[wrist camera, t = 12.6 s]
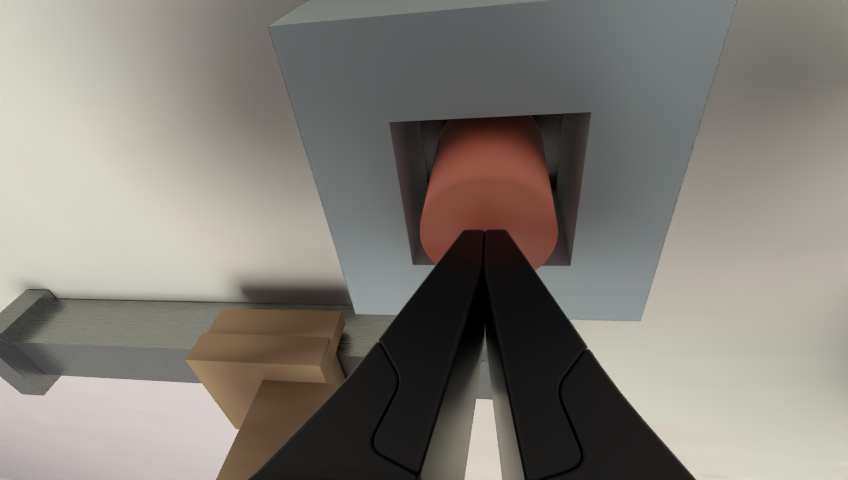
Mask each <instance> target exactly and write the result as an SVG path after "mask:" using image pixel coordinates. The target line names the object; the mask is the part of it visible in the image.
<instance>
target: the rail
mask: <svg viewBox="0 0 848 480" xmlns="http://www.w3.org/2000/svg"><path fill="white" fill-rule="evenodd" d="M222 308H226V309H267V310H308V311H342V314H343V317H344V320H345V326H344V329H343V332H342V335H341V338H340V341H339V344H338V347H337V350H336V356H337V358H338V361H339V363H340V366H341V369H342V371H343V374H344V377H345V379H347V377H348V376H349V375H350V374H351V373H352V371H353V370H354V369H355V368H356V367H357V365H358V364H359V363H360V362H361V360H362V359H363V358H364V357H365V356H366V354H367V353H368V352H369V350H370V349H371V348H372V346H373V345H374V344H375V343H376V342H379V341H378V339H379V338H380V337H381V335H382V334H383V333H384V331H385V330H386V329H387V328H388V326H389V325H390V324H391V322H392V321H393V320H394V319H395V317H396V316H397V315H373V314H355V311H354V307H353V306H344V305H298V304H253V303H207V302H161V301H116V300H70V299H56V298H55V297H54V296H53V295H52V294H51V293H50V292H49V291H48V290H26V291H25V292H23V293H22V294H21V295H20V296H19V297H18V298H17V299H15V300H14V301H13V302H12V303H11V304H10V305H9V306H7V307H6V308H5V309H4V310H3V311H2V312H1V313H0V376H1V377H2V378H3V379H4V380H6V381H7V382H8V383H9V384H10V385H12V386H13V387H14V388H15V389H16V390H18V391H19V392H20V393H21V394H29V395H45V393H46V392H47V391H48V390H49V389H50V388H51V387H52V385H53V384H54V383H55V382H56V381H57V380H58V379H59V377H60V376H61V375H63V376H81V377H99V378H116V379H134V380H152V381H170V382H188V383H202V382H201V381H200V379H199V378H198V377H197V375H196V374H195V373H194V371H193V370H192V369H191V367H190V366H189V365H188V363H187V362H186V361H185V359H186V358H187V356H188V354H189V353H190V351H191V350H192V348H193V347H194V345H195V344H196V342H197V341H198V339H199V337H200V336H201V334H202V333H207V332H208V330H209V329H210V327H211V326H212V324H213V323H214V321H215V319H216V318H217V316H218V315H219V313H220V312H221V310H222ZM476 399H492V400H493V398H492V390H491V381H490V373H489V365H488V357H487V348H486V337H485V338H484V347H483V354H482V361H481V368H480V375H479V381H478V388H477V395H476Z"/></svg>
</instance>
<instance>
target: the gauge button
mask: <svg viewBox="0 0 848 480" xmlns="http://www.w3.org/2000/svg"><path fill="white" fill-rule="evenodd" d="M466 229H482V230H483V231H484V233H485V231H486V230H487V229H505V230H507V231H508V233H509V234H510V235H511V237H512V238H513V240H514V241H515V243H516V244H517V245H518V247H519V248H520V250H521V251H522V253H523V254H524V256H525V257H526V258H527V260H528V261H529V263H530V264H531V266H532V267H533V269H534V270H535V271H536V270H537V269H538V268H539V267H541V266H542V265H543V264H544V263H545V262H546V261H547V259H548V258H549V257H550V255H551V254H552V252H553V250H554V248H555V245H556V242H557V237H558V226H557V220H556V214H555V208H554V203H553V197H552V191H551V186H550V180H549V174H548V169H547V163H546V157H545V152H544V146H543V140H542V135H541V132H540V129H539V127H538V125H537V124H536V122H535V121H534V119H533V118H532V117H531V116H530V115H523V116H503V117H483V118H463V119H449V120H448V121H447V122H446V124H445V125H444V127H443V129H442V131H441V133H440V137H439V140H438V145H437V150H436V154H435V159H434V163H433V168H432V172H431V177H430V181H429V186H428V190H427V195H426V199H425V204H424V208H423V213H422V217H421V222H420V238H421V243H422V245H423V248H424V250H425V252H426V253H427V255H428V256H429V258H430V259H431V260H432V261H433V262H434V263H435V264H437V263H438V262H439V261H440V259H441V258H442V257H443V255H444V254H445V253H446V252H447V250H448V249H449V248H450V246H451V245H452V244H453V243H454V241H455V240H456V239H457V237H458V236H459V235H460V234H461V232H462V231H463V230H466Z"/></svg>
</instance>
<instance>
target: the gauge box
mask: <svg viewBox="0 0 848 480" xmlns="http://www.w3.org/2000/svg"><path fill="white" fill-rule="evenodd" d="M736 3H737V0H308V1H306V2H305V3H303V4H302V5H300V6H298V7H297V8H295V9H294V10H292V11H291V12H289V13H288V14H286V15H284V16H283V17H281V18H280V19H278V20H277V21H275V22H274V23H272V24H270V25H269V26H268V29H269V32H270V35H271V39H272V42H273V45H274V48H275V52H276V55H277V58H278V62H279V65H280V68H281V71H282V75H283V78H284V81H285V85H286V88H287V91H288V94H289V98H290V101H291V104H292V107H293V111H294V114H295V117H296V121H297V124H298V127H299V130H300V134H301V137H302V140H303V143H304V147H305V150H306V153H307V157H308V160H309V163H310V166H311V170H312V173H313V176H314V180H315V183H316V186H317V189H318V193H319V196H320V199H321V202H322V206H323V209H324V212H325V216H326V219H327V222H328V225H329V229H330V232H331V235H332V238H333V242H334V245H335V248H336V252H337V255H338V258H339V261H340V265H341V268H342V271H343V275H344V278H345V281H346V284H347V288H348V291H349V294H350V297H351V301H352V304H353V307H354V311H355V314H373V315H398V313H399V312H400V311H401V310H402V308H403V307H404V306H405V304H406V303H407V302H408V301H409V299H410V298H411V297H412V295H413V294H414V293H415V291H416V290H417V289H418V288H419V286H420V285H421V284H422V282H423V281H424V280H425V279H426V277H427V276H428V275H429V273H430V272H431V271H432V270H433V268H434V267H435V266H436V264H435V263H434V262H433V261H432V260H431V259H430V258H429V256H428V255H427V253H426V252H425V250H424V248H423V245H422V243H421V238H420V222H421V217H422V213H423V208H424V204H425V199H426V195H427V190H428V184H427V176H426V167H425V159H424V151H423V143H422V134H421V126H420V121H423V120H443V119H463V118H483V117H503V116H523V115H543V114H563V120H562V130H561V141H560V152H559V162H558V173H557V184H556V190H551V191H552V197H553V203H554V208H555V214H556V220H557V226H558V237H557V242H556V245H555V248H554V250H553V252H552V254H551V255H550V257H549V258H548V259H547V261H546V262H545V263H544V264H543V265H542V266H541V267H539V268H538V269H537V270H536V273H537V274H538V276H539V277H540V279H541V280H542V282H543V283H544V284H545V286H546V287H547V289H548V290H549V292H550V293H551V295H552V296H553V297H554V299H555V300H556V302H557V303H558V305H559V306H560V308H561V309H562V310H563V312H564V313H565V315H566V316H567V318H568V319H571V320H611V321H641V318H642V314H643V311H644V308H645V304H646V301H647V298H648V294H649V291H650V288H651V284H652V281H653V278H654V275H655V271H656V268H657V265H658V261H659V258H660V255H661V251H662V248H663V245H664V241H665V238H666V235H667V231H668V228H669V225H670V221H671V218H672V215H673V212H674V208H675V205H676V202H677V198H678V195H679V192H680V188H681V185H682V182H683V178H684V175H685V172H686V168H687V165H688V162H689V158H690V155H691V152H692V149H693V145H694V142H695V139H696V135H697V132H698V129H699V125H700V122H701V119H702V115H703V112H704V109H705V105H706V102H707V99H708V95H709V92H710V89H711V85H712V82H713V79H714V76H715V72H716V69H717V66H718V62H719V59H720V56H721V52H722V49H723V46H724V42H725V39H726V36H727V32H728V29H729V26H730V22H731V19H732V16H733V13H734V9H735V6H736Z"/></svg>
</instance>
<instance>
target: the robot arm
mask: <svg viewBox="0 0 848 480" xmlns="http://www.w3.org/2000/svg"><path fill="white" fill-rule="evenodd" d="M485 337H486V348H487V357H488V365H489V373H490V381H491V390H492V398H493V406H494V414H495V422H496V430H497V439H498V447H499V455H500V463H501V471H502V480H696V479H695V478H694V477H693V476H692V474H691V473H690V472H689V471H688V470H687V469H686V468H685V466H684V465H683V464H682V463H681V462H680V461H679V460H678V458H677V457H676V456H675V455H674V454H673V453H672V452H671V451H670V449H669V448H668V447H667V446H666V445H665V444H664V443H663V441H662V440H661V439H660V438H659V437H658V436H657V435H656V433H655V432H654V431H653V430H652V429H651V428H650V427H649V426H648V424H647V423H646V422H645V421H644V420H643V418H642V417H641V416H640V415H639V414H638V413H637V411H636V410H635V409H634V408H633V407H632V405H631V404H630V403H629V402H628V401H627V399H626V398H625V397H624V396H623V395H622V393H621V392H620V391H619V389H618V388H617V387H616V385H615V384H614V383H613V381H612V380H611V379H610V377H609V376H608V375H607V373H606V372H605V371H604V369H603V368H602V366H601V365H600V364H599V362H598V361H597V359H596V358H595V356H594V355H593V353H592V352H591V351H590V350H589V349H587V345H586V344H585V342H584V341H583V339H582V338H581V336H580V335H579V334H578V332H577V331H576V329H575V328H574V326H573V325H572V323H571V322H570V321H569V319H568V318H567V316H566V315H565V313H564V312H563V310H562V309H561V308H560V306H559V305H558V303H557V302H556V300H555V299H554V297H553V296H552V295H551V293H550V292H549V290H548V289H547V287H546V286H545V284H544V283H543V282H542V280H541V279H540V277H539V276H538V274H537V273H536V271H535V270H534V269H533V267H532V266H531V264H530V263H529V261H528V260H527V258H526V257H525V256H524V254H523V253H522V251H521V250H520V248H519V247H518V245H517V244H516V243H515V241H514V240H513V238H512V237H511V235H510V234H509V233H508V231H507V230H505V229H487V230H486V231H485V233H484V231H483V230H482V229H466V230H463V231H462V232H461V234H460V235H459V236H458V237H457V239H456V240H455V241H454V243H453V244H452V245H451V246H450V248H449V249H448V250H447V252H446V253H445V254H444V255H443V257H442V258H441V259H440V261H439V262H438V263H437V264H436V266H435V267H434V268H433V270H432V271H431V272H430V273H429V275H428V276H427V277H426V279H425V280H424V281H423V282H422V284H421V285H420V286H419V288H418V289H417V290H416V291H415V293H414V294H413V295H412V297H411V298H410V299H409V301H408V302H407V303H406V304H405V306H404V307H403V308H402V310H401V311H400V312H399V313H398V315H397V316H396V317H395V319H394V320H393V321H392V322H391V324H390V325H389V326H388V328H387V329H386V330H385V331H384V333H383V334H382V335H381V337H380V338H379V339H378V341H379V342H376V343H375V344H374V345H373V346H372V348H371V349H370V350H369V352H368V353H367V354H366V356H365V357H364V358H363V359H362V360H361V362H360V363H359V364H358V365H357V367H356V368H355V369H354V370H353V371H352V373H351V374H350V375H349V376H348V377H347V379H346V380H345V381H344V382H343V383H342V384H341V385H340V386H339V387H338V388H337V389H336V390H335V392H334V393H333V394H332V395H331V396H330V397H329V398H328V399H327V400H326V401H325V402H324V403H323V404H322V405H321V406H320V407H319V408H318V410H317V411H316V412H315V413H314V414H313V415H312V416H311V417H310V418H309V419H308V420H307V421H306V422H305V423H304V424H303V425H302V426H301V427H300V428H299V429H298V430H297V431H296V432H295V433H294V434H293V435H292V436H291V437H290V438H289V439H288V440H287V441H286V442H285V443H284V444H283V445H282V446H281V447H280V448H279V449H278V451H277V452H276V453H275V454H274V455H273V456H272V457H271V458H270V459H269V460H268V461H267V462H266V463H265V464H264V465H263V466H262V467H261V468H259V469H258V470H257V471H256V472H255V473H254V474H253V475H252V476H250V477H249V478H248V479H247V480H464V477H465V470H466V464H467V457H468V450H469V443H470V436H471V429H472V423H473V416H474V409H475V402H476V395H477V388H478V381H479V375H480V368H481V361H482V354H483V347H484V338H485Z"/></svg>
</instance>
